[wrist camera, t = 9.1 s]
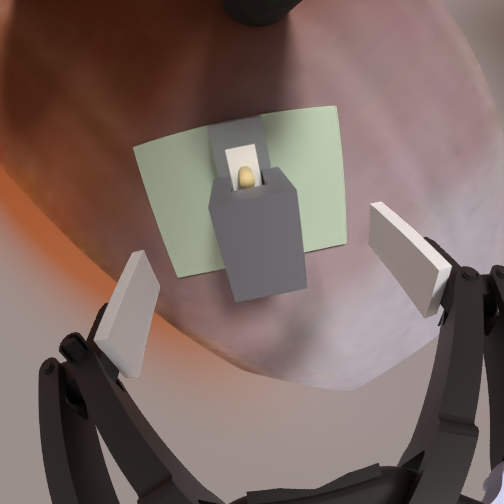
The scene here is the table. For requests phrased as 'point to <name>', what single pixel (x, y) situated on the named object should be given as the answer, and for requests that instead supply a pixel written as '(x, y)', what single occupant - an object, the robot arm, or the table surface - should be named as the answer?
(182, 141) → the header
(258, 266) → the plug block
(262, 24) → the cup
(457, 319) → the robot arm
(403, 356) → the table surface
